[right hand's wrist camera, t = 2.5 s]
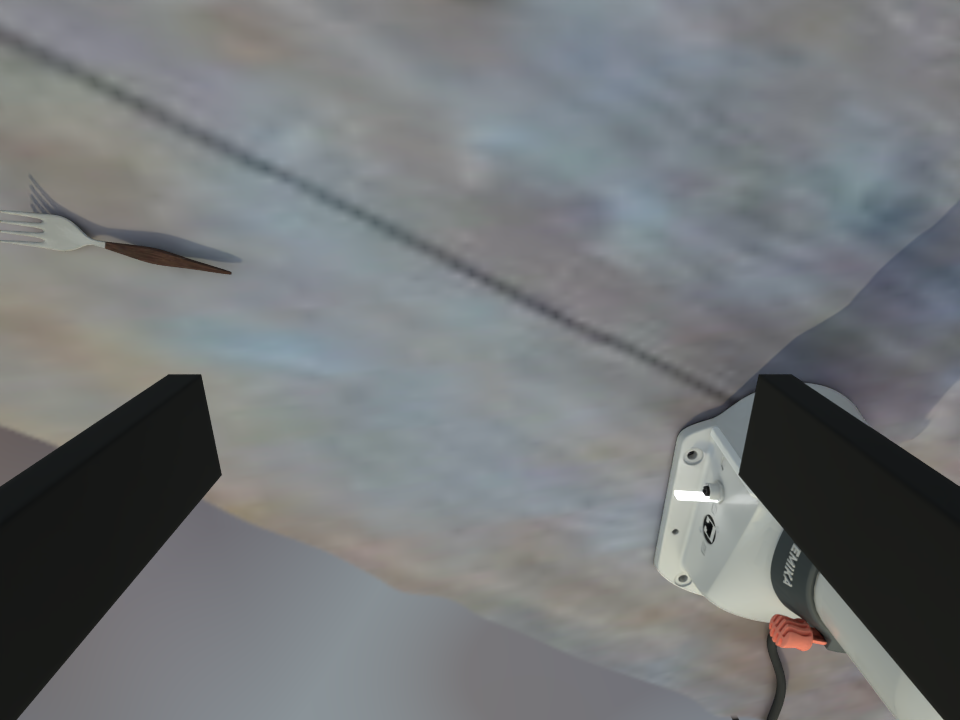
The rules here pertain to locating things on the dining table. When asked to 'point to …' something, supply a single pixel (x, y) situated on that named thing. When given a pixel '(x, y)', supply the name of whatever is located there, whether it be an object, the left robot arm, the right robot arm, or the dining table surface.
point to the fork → (95, 242)
